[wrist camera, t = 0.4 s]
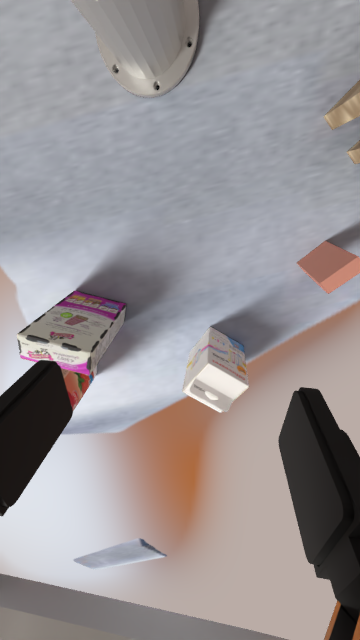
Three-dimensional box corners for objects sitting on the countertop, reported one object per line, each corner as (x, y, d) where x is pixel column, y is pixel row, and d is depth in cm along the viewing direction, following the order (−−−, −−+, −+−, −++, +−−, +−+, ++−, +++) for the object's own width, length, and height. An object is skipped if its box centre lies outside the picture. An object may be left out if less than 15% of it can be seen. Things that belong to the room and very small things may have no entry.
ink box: (244, 345, 49) (253, 394, 37) (221, 371, 53) (222, 422, 41) (209, 325, 47) (207, 369, 36) (188, 352, 51) (179, 400, 40)
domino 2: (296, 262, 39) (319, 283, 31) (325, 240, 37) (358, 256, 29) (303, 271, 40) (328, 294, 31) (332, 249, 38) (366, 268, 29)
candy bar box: (74, 310, 50) (18, 359, 36) (74, 289, 48) (13, 332, 33) (125, 324, 50) (89, 377, 36) (127, 303, 48) (90, 352, 33)
